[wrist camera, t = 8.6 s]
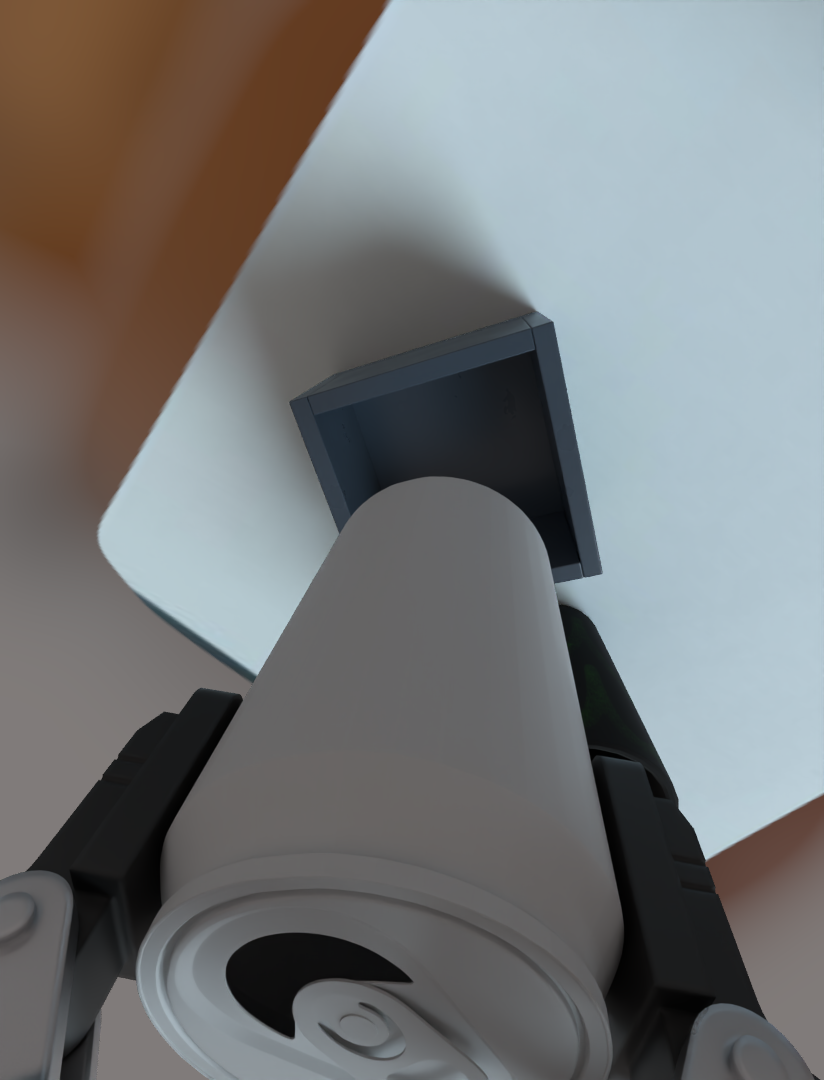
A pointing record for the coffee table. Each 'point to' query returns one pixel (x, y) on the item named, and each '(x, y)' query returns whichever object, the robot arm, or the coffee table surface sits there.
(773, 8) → the coffee table surface
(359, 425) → the open box
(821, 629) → the coffee table surface
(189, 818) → the beverage can
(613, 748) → the cup
